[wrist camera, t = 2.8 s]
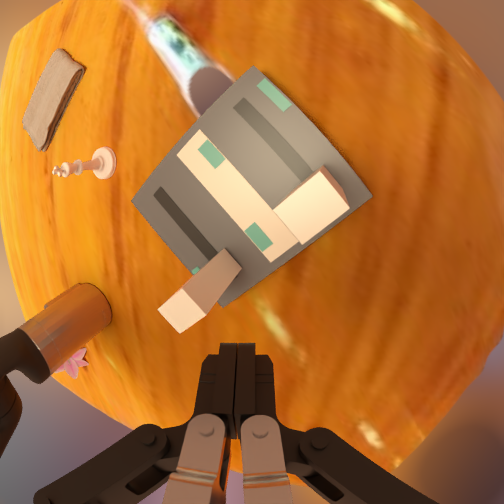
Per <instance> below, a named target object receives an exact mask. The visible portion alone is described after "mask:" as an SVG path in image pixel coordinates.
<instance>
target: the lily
mask: <svg viewBox="0 0 504 504" xmlns="http://www.w3.org/2000/svg"><path fill="white" fill-rule="evenodd" d="M85 353H86V348H83V349H80V350H78V351H77V352H76V353H75V354H74V355H73V356H72V357H70V358H69V359H68V360H67V361H66V362H65V363H64V364H63V365H61V366H60V367H59V368H58V369H57V370H56V371H55V373H58V372H61V371H64V370H65V371H66V372H67V373H68V374H69V375H70V376H71V377H72V378H74V379H76V378H77V376H78V367H81V366H86V365H89V363H87V362H86V361H84V360H82V358H83V357H84V355H85Z"/></svg>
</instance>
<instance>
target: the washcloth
mask: <svg viewBox="0 0 504 504" xmlns="http://www.w3.org/2000/svg"><path fill="white" fill-rule="evenodd" d="M83 74H84V68H83V66H81V65H80V64H79V63H77V62H76V61H75V62H74V61H73V60H72V59H71V57H70V55H69V54H67V53H66V52H65V51H64V50H62V49H60V48H59V49H56V51H54V53H53V54H52V56H51V58H50V60H49V61H48V63H47V65H46V67H45V69H44V71H43V73H42V75H41V77H40V79H39V81H38V83H37V86H36V88H35V89H34V93H33V94H32V97H31V100H30V102H29V104H28V107H27V109H26V112H25V114H24V117H23V122H22V123H23V128H24V129H25V130H26V131H27V132H28V133H29V136H30V137H31V139H32V141H33V143H34V145H35V146H36V148H37V149H38V151H41V150H42V151H43V152H45V151H46V149H47V147H48V145H49V144H50V143H51V140H52V138H53V136H54V134H55V132H56V130H57V127H58V125H59V123H60V121H61V118H62V116H63V114H64V112H65V110H66V108H67V106H68V104H69V102H70V100H71V98H72V95H73V94H74V92H75V90H76V88H77V86H78V84H79V83H80V81H81V79H82V77H83Z"/></svg>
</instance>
